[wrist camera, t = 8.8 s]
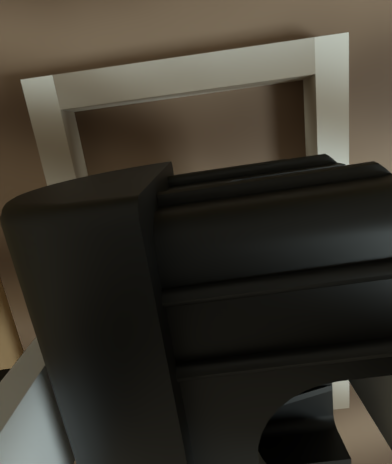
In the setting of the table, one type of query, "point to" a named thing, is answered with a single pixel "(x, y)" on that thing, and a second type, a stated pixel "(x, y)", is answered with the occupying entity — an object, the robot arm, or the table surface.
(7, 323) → the table surface
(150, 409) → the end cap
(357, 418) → the lens rest
